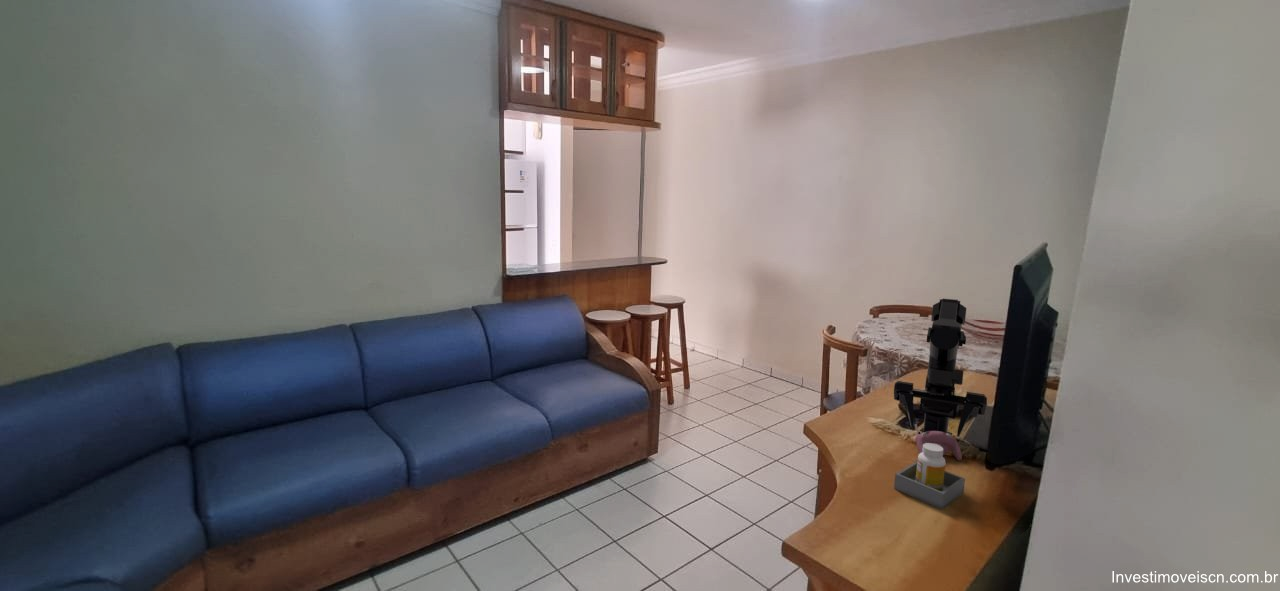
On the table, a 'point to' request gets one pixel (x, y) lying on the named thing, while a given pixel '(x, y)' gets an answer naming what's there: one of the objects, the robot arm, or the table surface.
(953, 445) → the video game controller
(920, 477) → the supplement bottle
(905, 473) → the trough tray
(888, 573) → the table surface
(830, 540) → the table surface
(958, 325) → the robot arm
